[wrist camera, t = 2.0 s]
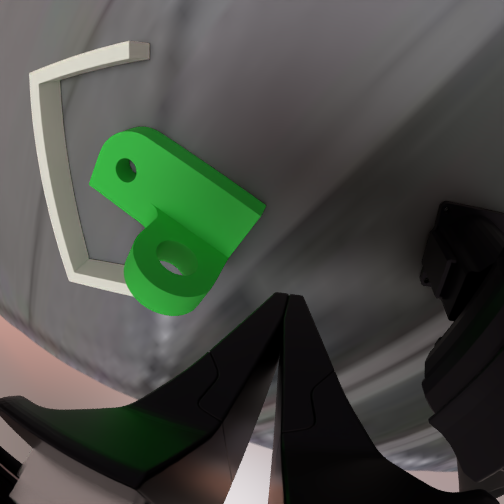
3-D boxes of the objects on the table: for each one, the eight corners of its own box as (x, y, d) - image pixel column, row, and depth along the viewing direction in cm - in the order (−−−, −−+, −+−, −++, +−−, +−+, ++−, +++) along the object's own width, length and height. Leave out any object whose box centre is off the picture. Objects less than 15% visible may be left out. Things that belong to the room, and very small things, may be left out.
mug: (445, 421, 29) (452, 505, 19) (494, 394, 25) (511, 480, 15) (467, 440, 31) (474, 510, 21) (509, 418, 27) (522, 489, 17)
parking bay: (149, 43, 17) (129, 40, 15) (170, 284, 27) (158, 301, 24) (50, 70, 19) (29, 73, 17) (83, 267, 29) (69, 281, 26)
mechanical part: (266, 204, 21) (234, 268, 15) (223, 261, 24) (182, 332, 18) (130, 111, 20) (50, 135, 13) (104, 176, 23) (34, 217, 16)
